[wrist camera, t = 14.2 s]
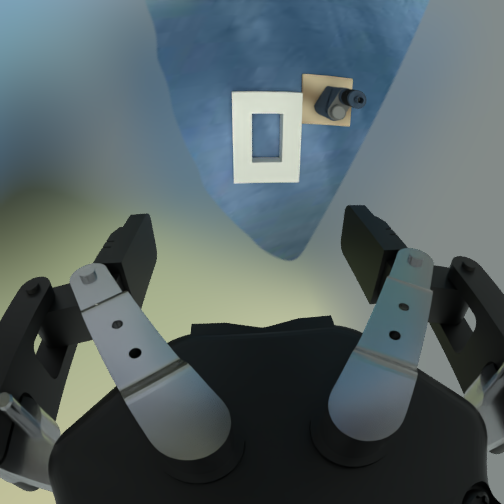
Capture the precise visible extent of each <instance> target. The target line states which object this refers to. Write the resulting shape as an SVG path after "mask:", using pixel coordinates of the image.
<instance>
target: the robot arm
mask: <svg viewBox="0 0 504 504" xmlns="http://www.w3.org/2000/svg"><path fill="white" fill-rule="evenodd" d="M341 249H342V252H343V255H344V256H345V258H346V260H347V262H348V264H349V266H350V267H351V269H352V271H353V273H354V275H355V276H356V279H357V281H358V282H359V284H360V286H361V288H362V290H363V292H364V294H365V296H366V298H367V300H368V302H369V304H376V305H375V307H374V310H373V312H372V314H371V316H370V319H369V321H368V323H367V325H366V328H365V330H364V332H363V333H361V332H359V331H357V330H354V329H351V328H347V327H343V326H336V325H334V323H333V320H332V318H331V315H330V316H321V317H310V318H298V319H294V320H291V321H287V322H284V323H280V324H276V325H273V326H269V327H264V328H260V327H252V326H245V325H237V324H230V323H210V324H192V326H191V334H190V335H185V336H182V337H179V338H177V339H175V340H172V341H170V342H169V343H166V341H165V340H164V339H163V338H162V336H161V335H160V334H159V333H158V331H157V330H156V329H155V327H154V326H153V325H152V324H151V322H150V321H149V320H148V318H147V317H146V316H145V314H144V313H143V312H142V310H141V307H142V304H143V301H144V298H145V294H146V291H147V288H148V285H149V282H150V279H151V276H152V273H153V270H154V267H155V264H156V259H157V250H156V244H155V239H154V234H153V228H152V223H151V218H150V215H149V214H136V215H130V217H129V218H128V220H127V221H126V223H125V224H124V226H123V227H119V228H118V229H117V230H116V231H114V232H113V233H112V234H111V235H110V236H109V238H108V240H107V242H106V243H105V244H104V246H103V248H102V249H101V251H100V252H99V254H98V256H97V257H96V259H95V261H94V262H93V263H92V264H88V265H85V266H83V267H81V268H79V269H78V270H76V271H75V272H74V273H73V274H72V276H71V278H70V283H69V284H66V285H62V286H58V287H54V288H52V286H51V283H50V281H49V280H48V278H46V277H37V278H33V279H31V280H29V281H28V282H26V283H25V284H24V285H22V287H21V288H20V289H19V291H18V292H17V294H16V296H15V297H14V299H13V300H12V302H11V304H10V305H9V307H8V309H7V310H6V312H5V314H4V316H3V317H2V319H1V321H0V478H2V479H4V480H5V481H7V482H10V483H12V484H14V485H16V486H18V487H19V488H21V489H23V490H26V491H35V490H37V489H39V488H41V489H45V490H48V491H52V492H53V494H54V497H55V500H56V504H501V503H500V502H498V501H497V500H496V498H495V497H494V496H493V494H492V493H491V490H490V488H489V485H488V478H487V463H486V462H487V452H488V451H489V452H491V453H494V454H500V453H503V452H504V294H503V293H502V292H501V290H500V289H499V288H498V287H497V285H496V284H495V283H494V282H493V280H492V279H491V278H490V277H489V276H488V274H487V273H486V272H485V271H484V270H483V268H482V267H481V266H480V265H479V264H478V263H477V262H475V261H473V260H472V259H470V258H467V257H462V256H457V257H455V258H453V260H452V263H451V265H450V268H447V267H441V266H434V262H433V260H432V258H431V257H430V256H429V255H428V254H426V253H425V252H423V251H420V250H418V249H413V248H407V247H406V245H405V244H404V243H403V242H402V240H401V239H400V238H399V237H398V236H397V235H396V234H395V232H394V231H393V230H391V228H390V227H389V226H388V224H387V223H386V222H385V221H383V220H381V219H380V218H378V217H376V216H374V215H373V214H372V213H371V212H370V211H369V209H367V207H366V206H365V205H348V206H347V207H346V209H345V214H344V222H343V229H342V236H341ZM468 307H470V309H471V310H472V312H473V313H474V315H475V317H476V328H475V330H474V332H472V330H471V328H470V327H469V325H468V323H467V322H466V320H465V318H464V316H465V313H466V312H467V310H468ZM428 322H429V323H430V325H431V327H432V329H433V331H434V333H435V335H436V336H437V338H438V340H439V342H440V344H441V346H442V348H443V350H444V352H445V354H446V356H447V358H448V360H449V362H450V365H451V367H452V368H453V371H454V373H455V375H456V377H457V380H458V381H459V384H460V386H461V388H462V391H463V393H464V398H463V397H461V396H460V395H458V394H457V393H455V392H454V391H452V390H451V389H449V388H447V387H446V386H444V385H443V384H441V383H440V382H438V381H436V380H435V379H433V378H432V377H430V376H429V375H427V374H426V373H424V372H423V371H421V370H420V369H418V368H417V366H418V362H419V358H420V353H421V350H422V346H423V341H424V337H425V332H426V328H427V323H428ZM37 334H39V335H40V337H41V338H42V341H41V343H40V346H39V348H38V351H37V353H36V355H35V352H34V341H35V339H36V336H37ZM90 340H93V341H94V343H95V345H96V347H97V349H98V351H99V353H100V355H101V357H102V359H103V361H104V363H105V365H106V367H107V369H108V371H109V373H110V375H111V377H112V378H113V380H114V382H115V384H116V387H115V388H114V389H112V390H111V391H110V392H109V393H108V394H107V395H106V396H105V397H103V398H102V399H101V400H100V401H99V402H98V403H97V404H96V405H94V406H93V407H92V408H91V409H90V410H89V411H88V412H86V413H85V414H84V415H83V416H82V417H81V418H80V419H78V420H77V421H76V422H75V423H74V424H73V425H72V426H71V427H69V428H68V429H67V430H66V431H65V432H64V433H63V434H62V435H61V436H60V430H59V427H58V425H57V423H56V422H55V421H56V417H57V413H58V409H59V405H60V401H61V397H62V394H63V390H64V386H65V383H66V379H67V376H68V373H69V369H70V366H71V363H72V360H73V357H74V353H75V350H76V347H77V344H78V343H81V342H85V341H90Z"/></svg>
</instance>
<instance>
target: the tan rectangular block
mask: <svg viewBox="0 0 504 504" xmlns="http://www.w3.org/2000/svg"><path fill="white" fill-rule="evenodd" d="M352 83H353V79H350V78H342V77H333V76H323V75H312V74H302V93H303V101H302V124H323V125H338V126H350V117H351V107H350V108H349V109H348V111H347V112H346V116H345V118H344V119H342V120H338V121H332V120H330V119H328V118H326V117H323V116H321V115H319V114H318V113H317V112H316V111H315V107H314V105H315V103H316V101H317V100H318V98H319V97H320V95H321V94H322V92H323V91H324V89H325V88H326V87H327V86H332V87H343V88H349V89H352Z"/></svg>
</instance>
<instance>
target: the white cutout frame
mask: <svg viewBox="0 0 504 504" xmlns="http://www.w3.org/2000/svg"><path fill="white" fill-rule="evenodd" d="M302 101H303V93H300V92H285V91H232V121H233V165H234V183H273V182H299V170H300V151H301V129H302ZM252 114H280V143H279V157H252Z"/></svg>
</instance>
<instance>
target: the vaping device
mask: <svg viewBox="0 0 504 504" xmlns="http://www.w3.org/2000/svg"><path fill="white" fill-rule="evenodd" d="M365 104H366V96H365V94H364V93H363V92H361V91H358V90H353V89H349V88H343V87H332V86H327V87H326V88H325V89H324V91H323V92H322V94H321V95H320V97H319V98H318V100H317V101H316V103H315V105H314V107H315V111H316V112H317V113H318V114H319V115H321V116H323V117H326V118H328V119H330V120H332V121H338V120H342V119H344V118H345V116H346V112H347V111H348V109H349V108H350V107H353V108H357V109H359V108H362V107H363V106H364V105H365Z"/></svg>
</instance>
